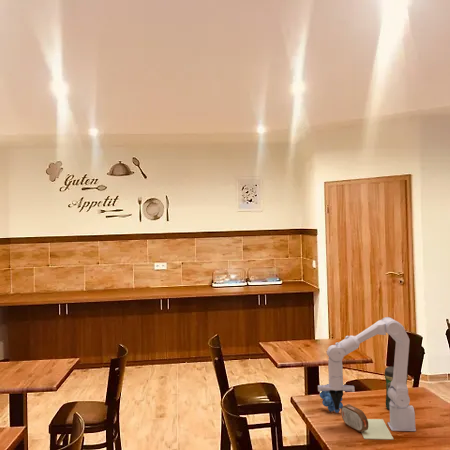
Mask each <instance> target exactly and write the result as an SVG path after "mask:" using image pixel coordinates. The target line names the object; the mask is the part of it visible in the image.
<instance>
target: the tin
mask: <svg viewBox="0 0 450 450" xmlns="http://www.w3.org/2000/svg"><path fill="white" fill-rule="evenodd" d="M340 411H341V418H342V420H343V422H344V424H345V425H346V426H348V427H350V428H351V429H353V430H355V431H356V432H359V433H361V432H363V431H366V430H367V429H368V420H367V419H368V417H367V415H366V414H365V412H364V411H363V410H362V409H360V408H358V407H355V406H354V405H352V404H350V403H348V404H347V403H346V404H345V405H343V407H342V408H341V409H340Z"/></svg>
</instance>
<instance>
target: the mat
mask: <svg viewBox="0 0 450 450" xmlns="http://www.w3.org/2000/svg"><path fill="white" fill-rule="evenodd" d="M367 420H368V429H367V430H366V431H363V432H360V433H361V435H362V437H363V440H390V441H391V440H394V437H393V436H392V434H391V430H390V429H389V427H388V425H387V424H386V423H385V420H384V418H381V419H380V418H367ZM394 441H395V440H394Z"/></svg>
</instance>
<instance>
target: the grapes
mask: <svg viewBox="0 0 450 450" xmlns="http://www.w3.org/2000/svg"><path fill="white" fill-rule="evenodd" d="M326 385H329V383H327V384H326ZM319 397H320V398H321V400H322V405H323V406H324V407H327V410H328V411H329V412H330V413H333V412H335V413H336V414H338V413H340V411H341V408H342V407H343V406H344V405H343V404H344V403H343V402H342V401H343V397H342V398H341V401H340V404H339V410H335V407H334V402H333V399H332V397H331V395H330V392H329V391H320V392H319Z"/></svg>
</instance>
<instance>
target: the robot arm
mask: <svg viewBox="0 0 450 450" xmlns="http://www.w3.org/2000/svg"><path fill="white" fill-rule="evenodd" d="M387 334H388V335H389V336H390V337H391V338H392V339H393V341H395V349H394V358H393V359H394V362H393V367H394V371H393V380H392V381H391V384H390V388H389V389H388V392H387V394H388V397H389V398H390V403H389V407H390V410H389V421H388V422H387V426H388V428H389V430H390V431H392V432H393V431H394V432H417V429H416V413H415V407H414V406H413V405H410V401H411V398H410V396H409V389H408V386H407V385H408V384H406V379H407V374H408V366H409V353H410V340H411V339H410V338H409V335H408V334H407V331H406V330H405V327H404V326H403V324H402V323H401V322H399V321H397V320H395V319H394V318H392V317H390V316H386V317H382V319H379V320H377V321H376V322H375V323H373V324H372V325H370V326H369V327H367V328H365V329H364V330H362V331H361V332H360V333H358V334H356V335H351V334H350V335H346V336H345V337H344V339H342V340H341V341H338V342H337V341H336V342H335V343H334V344H331V345H329V346H328V347H327V350H326V355H327V356H328V364H327V365H328V367H327V368H328V384H329V385H327V384H322V385H321V384H320V385H319V384H318V385H317V392H322V391H329V392H330V395H331V397H332V399H333V402H334V407H335V410H339V409H340V408H339V404H340V402H342V401H341V398H342V399H343V397H344V392H351V393H355V386H354V385H350V384H349V385H347V384H344V376H343V375H344V371H343V369H344V368H343V366H344V364H343V360H344V358H345V357H346V356H347V355H349V354H350V353H352V352H354V351H355V350H357V349H359V347H360V344H361V343H363V342H366V341H367V340H369V339H371V338H373V337H375V336H378V335H380V336H381V335H382V336H386V335H387Z"/></svg>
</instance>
